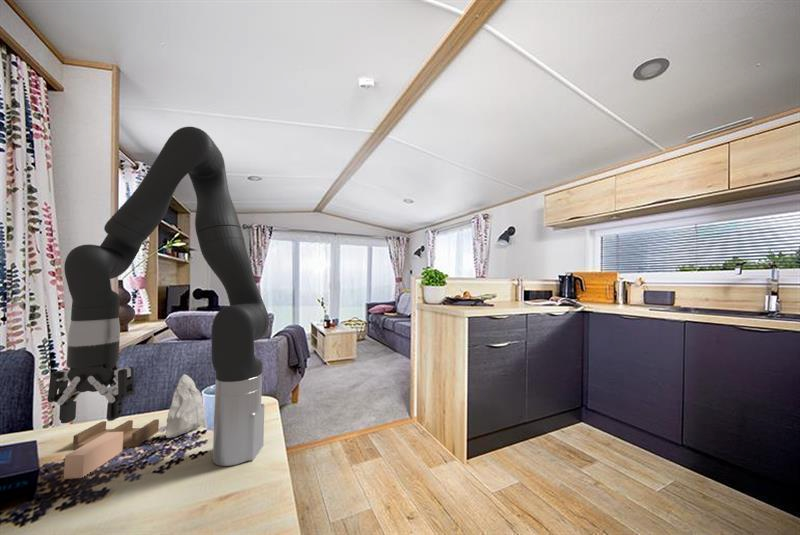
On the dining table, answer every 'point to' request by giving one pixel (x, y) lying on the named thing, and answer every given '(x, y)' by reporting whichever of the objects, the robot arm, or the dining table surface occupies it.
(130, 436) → the rack
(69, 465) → the pink rectangular block
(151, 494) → the dining table surface
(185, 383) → the stone tool
